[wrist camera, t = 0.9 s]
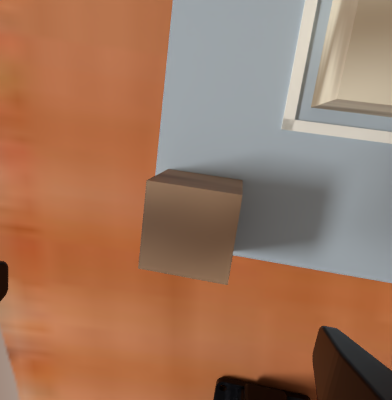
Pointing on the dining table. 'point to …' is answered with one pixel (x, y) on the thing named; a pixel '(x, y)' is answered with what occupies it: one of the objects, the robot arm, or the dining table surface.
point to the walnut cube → (190, 225)
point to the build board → (277, 135)
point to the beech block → (356, 59)
